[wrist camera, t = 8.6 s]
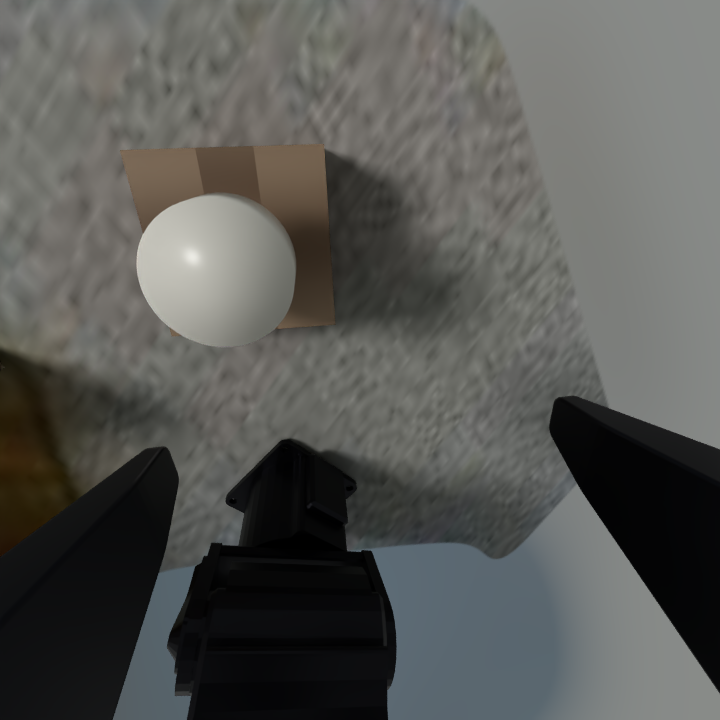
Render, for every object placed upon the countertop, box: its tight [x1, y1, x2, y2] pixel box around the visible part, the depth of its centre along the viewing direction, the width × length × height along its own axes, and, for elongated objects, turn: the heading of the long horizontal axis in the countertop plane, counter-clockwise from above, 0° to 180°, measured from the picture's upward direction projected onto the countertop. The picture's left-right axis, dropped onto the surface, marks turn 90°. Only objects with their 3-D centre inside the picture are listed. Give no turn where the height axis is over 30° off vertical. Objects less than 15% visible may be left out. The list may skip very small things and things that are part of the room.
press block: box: [120, 144, 335, 336], centre depth 17 cm, size 7×7×4 cm
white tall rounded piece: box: [137, 192, 296, 347], centre depth 15 cm, size 4×4×8 cm
